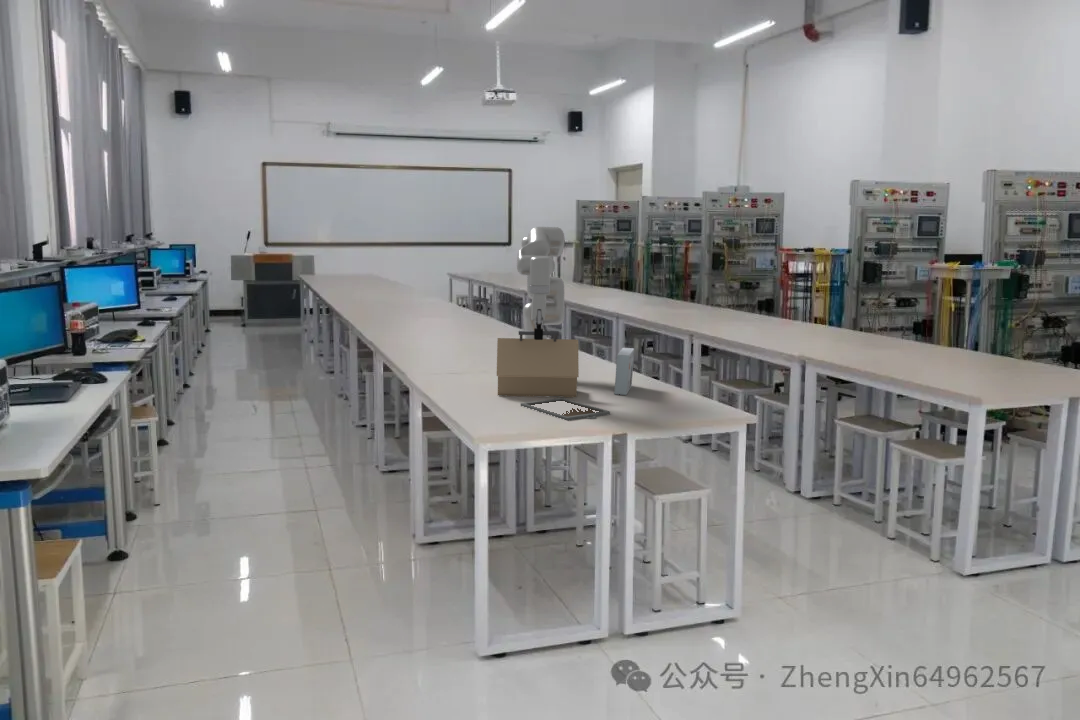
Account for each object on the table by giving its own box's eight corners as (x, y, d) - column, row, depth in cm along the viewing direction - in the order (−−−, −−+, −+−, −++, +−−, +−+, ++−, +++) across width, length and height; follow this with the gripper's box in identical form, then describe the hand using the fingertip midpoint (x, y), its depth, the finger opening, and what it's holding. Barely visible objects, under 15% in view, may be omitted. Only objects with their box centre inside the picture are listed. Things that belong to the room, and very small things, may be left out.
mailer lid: (497, 338, 329) (497, 329, 320) (578, 339, 330) (579, 331, 321) (496, 375, 324) (496, 368, 315) (578, 377, 325) (580, 369, 316)
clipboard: (562, 397, 320) (615, 412, 296) (561, 401, 320) (615, 417, 296) (520, 403, 308) (572, 419, 285) (520, 407, 309) (572, 424, 285)
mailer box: (498, 388, 339) (498, 369, 338) (574, 390, 340) (574, 371, 339) (497, 395, 325) (497, 376, 324) (576, 397, 326) (577, 377, 325)
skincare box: (627, 395, 332) (629, 355, 329) (613, 394, 333) (615, 354, 330) (633, 385, 352) (634, 347, 349) (619, 385, 353) (621, 346, 351)
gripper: (529, 288, 326) (528, 336, 329) (529, 291, 311) (528, 341, 314) (548, 289, 327) (547, 336, 329) (550, 292, 311) (549, 342, 314)
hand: (538, 338), depth 322 cm, fingers closed on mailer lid
